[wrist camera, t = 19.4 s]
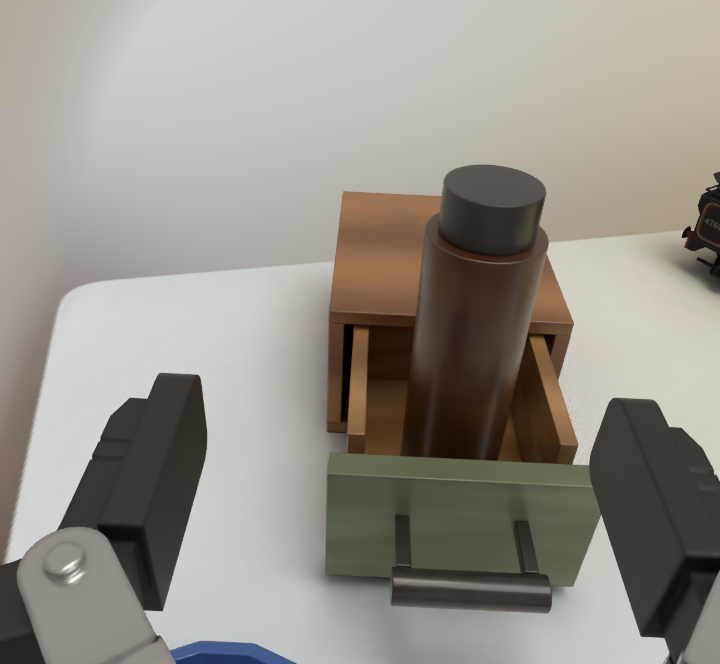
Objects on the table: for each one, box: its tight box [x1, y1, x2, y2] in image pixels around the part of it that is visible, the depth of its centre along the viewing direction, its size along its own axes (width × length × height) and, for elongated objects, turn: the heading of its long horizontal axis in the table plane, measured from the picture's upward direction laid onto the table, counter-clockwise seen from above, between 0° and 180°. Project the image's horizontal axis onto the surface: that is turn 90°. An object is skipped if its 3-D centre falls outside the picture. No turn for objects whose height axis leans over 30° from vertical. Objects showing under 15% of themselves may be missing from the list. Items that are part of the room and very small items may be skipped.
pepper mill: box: [400, 165, 549, 461], centre depth 30 cm, size 5×5×16 cm
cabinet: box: [327, 192, 574, 432], centre depth 43 cm, size 15×13×9 cm
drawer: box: [325, 324, 601, 614], centre depth 33 cm, size 17×11×7 cm, turn 179°
